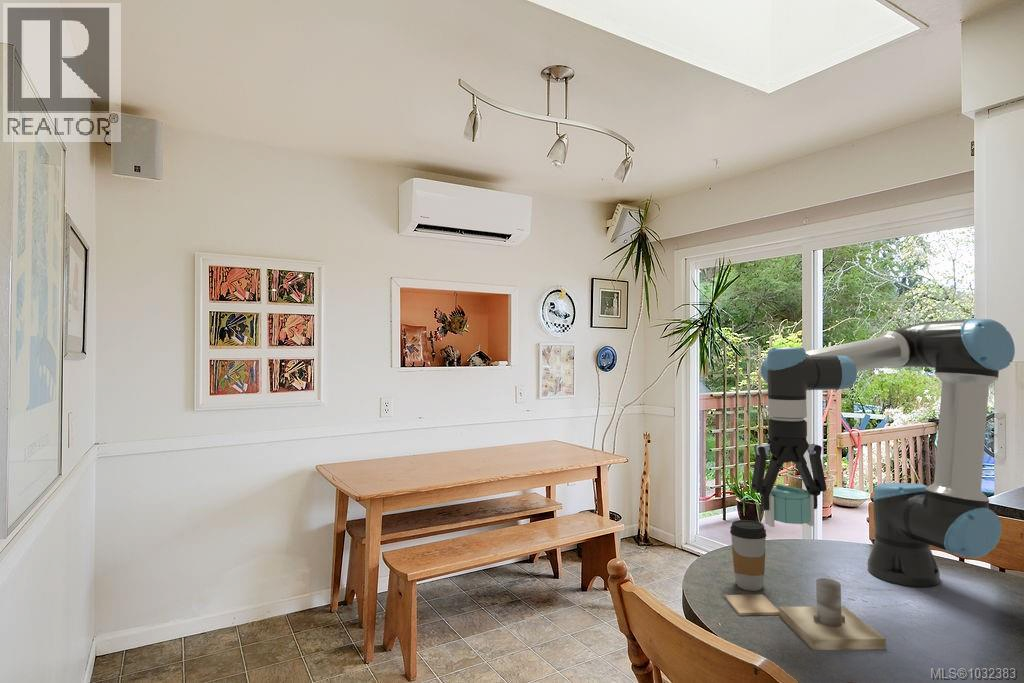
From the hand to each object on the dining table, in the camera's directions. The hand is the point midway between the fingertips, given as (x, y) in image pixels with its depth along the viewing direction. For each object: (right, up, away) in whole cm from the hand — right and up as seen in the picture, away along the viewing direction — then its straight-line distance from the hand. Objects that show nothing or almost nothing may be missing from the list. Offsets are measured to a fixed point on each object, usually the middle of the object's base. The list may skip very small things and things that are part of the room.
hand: (789, 524), depth 122 cm
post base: (+5, -20, -6) cm, 22 cm away
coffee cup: (-1, -21, +17) cm, 27 cm away
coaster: (-5, -21, +6) cm, 22 cm away
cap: (0, +1, 0) cm, 1 cm away
